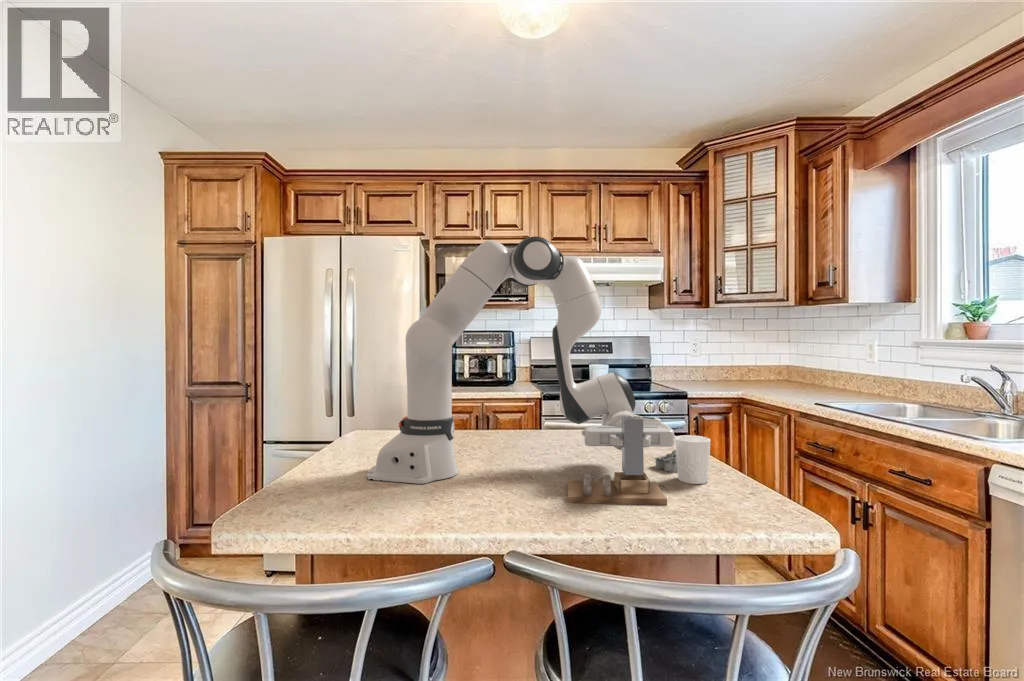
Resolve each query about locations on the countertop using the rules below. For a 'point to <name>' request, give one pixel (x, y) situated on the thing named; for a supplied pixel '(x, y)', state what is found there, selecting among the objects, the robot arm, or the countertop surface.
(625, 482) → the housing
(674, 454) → the egg carton
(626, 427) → the grey tall block
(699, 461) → the white cup
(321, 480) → the countertop surface
